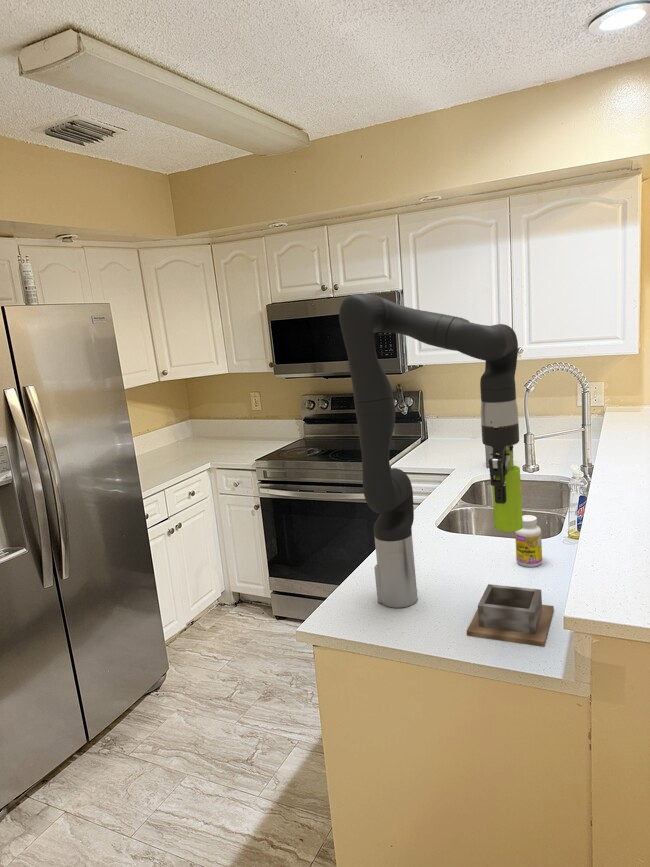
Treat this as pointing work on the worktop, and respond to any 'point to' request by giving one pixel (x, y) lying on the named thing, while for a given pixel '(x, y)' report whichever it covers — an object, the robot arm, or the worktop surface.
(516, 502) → the soap dispenser
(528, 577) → the worktop surface
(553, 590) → the worktop surface
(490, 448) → the coffee mug
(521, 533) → the supplement bottle
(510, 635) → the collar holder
